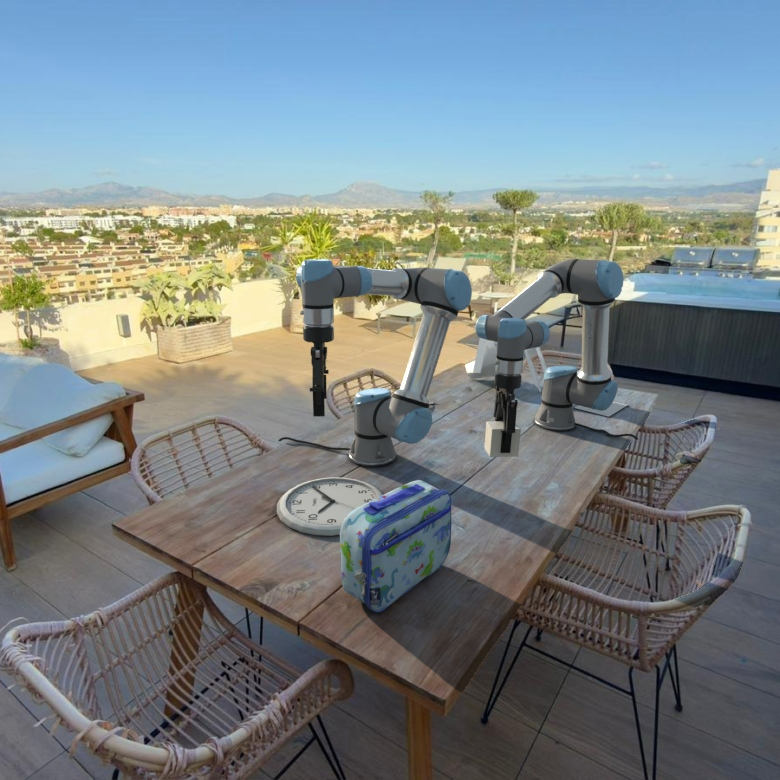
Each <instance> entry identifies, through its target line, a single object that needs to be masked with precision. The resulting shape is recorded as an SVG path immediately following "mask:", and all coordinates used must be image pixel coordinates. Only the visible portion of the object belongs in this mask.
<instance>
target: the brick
mask: <svg viewBox="0 0 780 780" xmlns="http://www.w3.org/2000/svg"><path fill="white" fill-rule="evenodd" d="M485 422H486V423H485V436H484V450H485V452H486V454H487V455H488V457H489V458H512V457H513V458H515V457H516V458H517V457H519V453H520V452H519V451H520V444H521V443H520V442H521V432H522V428H521V427H520V426H519V425H518V424H517V423H516V427H515V433H512V439H511V449H510V453H501V452H500V451H501V439H502V433H501V431H503V430H504V426H503V421H495V420H494V421H493V420H489V421H488V420H487V421H485Z"/></svg>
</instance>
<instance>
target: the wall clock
mask: <svg viewBox="0 0 780 780" xmlns="http://www.w3.org/2000/svg"><path fill="white" fill-rule="evenodd" d="M384 494H385V493H383V492H382V491H381V490H380V489H379V488H377V487H376V486H374V485H372V484H371V483H369V482H365V481H362V480H359V479H355V478H349V477H338V476H337V477H335V476H333V477H332V476H331V477H322V478H317V479H312V480H307V481H305V482H302V483H299V484H297V485H295V486H293V487H292V488H290V489H288V490H287V491H286V492H285V493H284V494H283V495H281V496H280V498H279V499H278V502H277V503H276V515H277V517H278V518H279V520H280V521H281V522H282V523H283V524H285V525H286V526H287V527H288V528H290V529H293V530H295V531H297V532H299V533H303V534H308V535H312V536H327V537H328V536H329V537H331V536H332V537H333V536H340V530H341V526H342V523H343V521H344V519H345V518H346V516H347V515H348V514H349V513H350V512H351V511H353V510H354V509H356V508H358V507H360V506H362V505H364V504H366V503H368V502H370V501H372V500H374V499H376V498H378V497H380V496H382V495H384Z"/></svg>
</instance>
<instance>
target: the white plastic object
mask: <svg viewBox="0 0 780 780" xmlns="http://www.w3.org/2000/svg"><path fill="white" fill-rule="evenodd" d="M536 354H537V356H538V360H539V362H540V366H541V369H542V371H543V374H545V371H546V369H548V367H547V364H546V361H545V358H544V355H543V352H542V350H541V346H540V347H537V348H531V349H526V350H524V356H523V361H525V360H526V362H527V365H528V368H529V372H530V375H531V378H532V380H533V383H534V386H535V387H536V389H537V390H538V391H539V392H540V393H541V391H542V388H541V384H540V382H539V378H538V375H537V372H536V369H535V366H534V363H533V361H532V358H531V356H533V355H536ZM496 355H497V342H495V341H488V340H486V339H482V338H479V339H478V345H477V350H476V354H475V358H474V360H473V361H471V362H468V363H466V364H464V367H465V370H466V371H465V372H466V374H467V375H468V377H469V379H471V380H474V379H481V378H482V379H483V378H491V377H495V373H496V371H495V369H496V365H494V362H496Z"/></svg>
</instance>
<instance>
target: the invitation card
mask: <svg viewBox="0 0 780 780" xmlns="http://www.w3.org/2000/svg"><path fill="white" fill-rule="evenodd" d="M628 406H629V404H627V403H623V402H618V401H614V400H613V402H612V404H611V405H610V407H609V408H608V409H606V410H604V411H600V410H595V409H594V410H593V409H591V408H588V407H584V406H580V405H575V406H574V407H573V409H575V410H581V411H584V412H587V413H593V414H596V415H600V416H604V417H608V418H609V417H611V416H613V415H614V414H616V413H617V412H619V411H621V410H623V409H624V408H626V407H628Z"/></svg>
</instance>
